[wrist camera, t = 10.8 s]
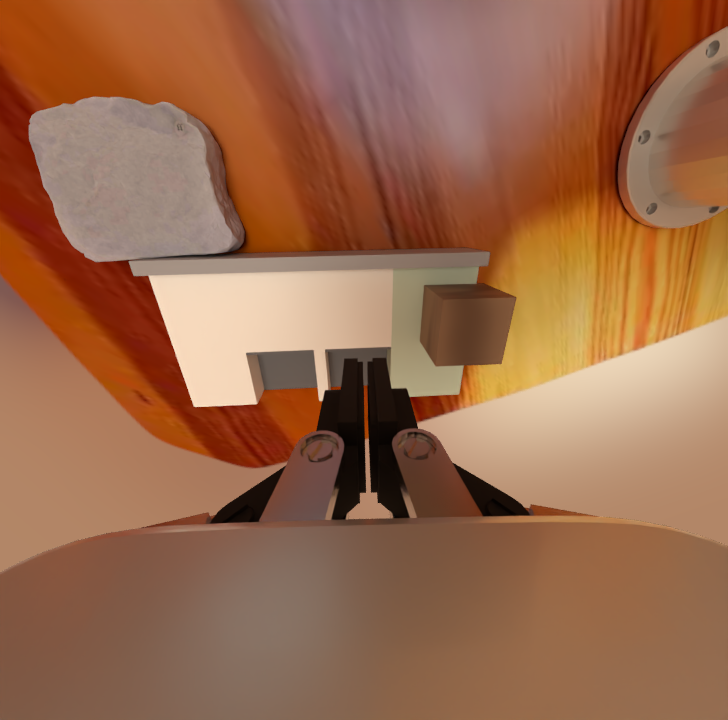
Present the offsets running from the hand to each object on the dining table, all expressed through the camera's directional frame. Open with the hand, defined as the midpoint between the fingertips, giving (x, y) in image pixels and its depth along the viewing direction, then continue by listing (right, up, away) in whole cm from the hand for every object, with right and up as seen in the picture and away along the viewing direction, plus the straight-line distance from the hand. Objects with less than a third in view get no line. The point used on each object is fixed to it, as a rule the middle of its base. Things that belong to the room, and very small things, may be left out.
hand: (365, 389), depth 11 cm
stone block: (-16, +15, +11) cm, 24 cm away
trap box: (-4, +5, +16) cm, 17 cm away
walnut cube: (+7, +5, +13) cm, 16 cm away
